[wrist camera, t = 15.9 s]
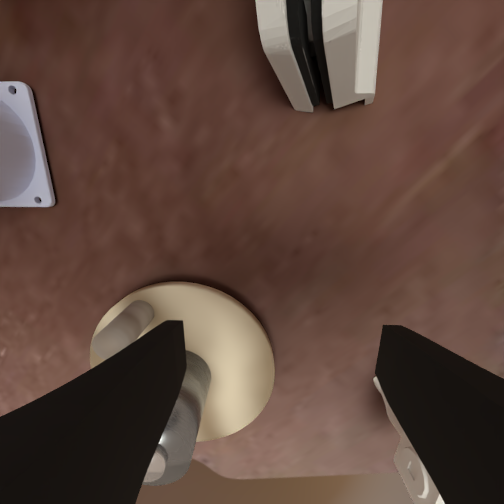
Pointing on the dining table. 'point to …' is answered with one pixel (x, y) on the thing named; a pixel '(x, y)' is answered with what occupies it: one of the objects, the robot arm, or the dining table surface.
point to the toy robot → (411, 465)
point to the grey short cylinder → (181, 425)
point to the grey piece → (322, 48)
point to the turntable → (200, 347)
